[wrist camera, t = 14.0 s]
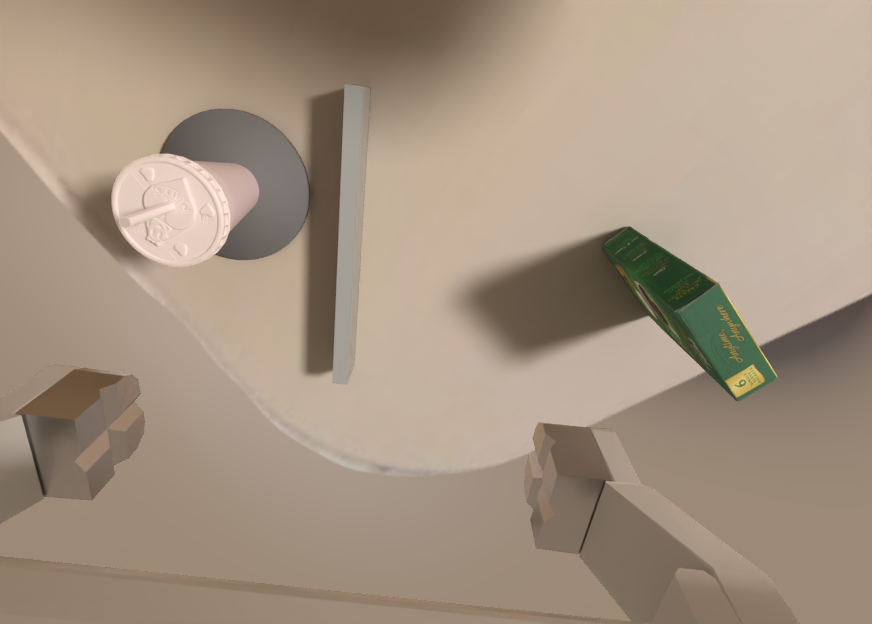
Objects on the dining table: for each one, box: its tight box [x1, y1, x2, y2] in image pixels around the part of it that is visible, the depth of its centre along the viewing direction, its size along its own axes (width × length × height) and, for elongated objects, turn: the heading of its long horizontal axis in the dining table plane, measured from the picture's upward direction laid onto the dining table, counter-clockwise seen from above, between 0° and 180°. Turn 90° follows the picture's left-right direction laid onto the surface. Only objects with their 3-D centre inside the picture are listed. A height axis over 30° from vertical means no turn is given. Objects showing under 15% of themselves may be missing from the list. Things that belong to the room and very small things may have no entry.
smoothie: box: [111, 154, 259, 267], centre depth 30 cm, size 6×6×14 cm
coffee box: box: [602, 227, 777, 401], centre depth 33 cm, size 8×3×13 cm, turn 39°
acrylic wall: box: [332, 84, 371, 385], centre depth 37 cm, size 22×1×4 cm, turn 173°
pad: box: [162, 109, 310, 260], centre depth 37 cm, size 11×11×1 cm
